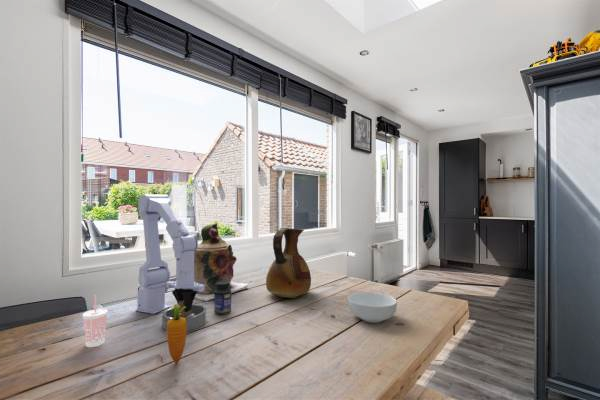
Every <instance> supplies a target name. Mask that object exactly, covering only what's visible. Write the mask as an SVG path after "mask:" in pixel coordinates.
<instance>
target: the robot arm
mask: <svg viewBox="0 0 600 400" xmlns="http://www.w3.org/2000/svg"><path fill="white" fill-rule="evenodd" d="M137 204H138V205H137V206H138V207H137V208H138V213H139V214H138V215H139V217H140V218H142V222H143V234H144V235H143V236H144V245H145V246H144V247H145V258H146V261H145V262H144V263H143V264H142V265H141V266H140V267H139V269H138V279H137V280H138V283H139V285H140V287H139V289H138V291H137V294H136V296H137V298H136V301H137V306H136V307H137V308H136V309H135V311H136V312H142V313H145V314H146V313H147V314H152V315H155V314H157V313H159V312H161V311H165V310H167V309H170V308H171V306H170V304H169V305H167V304H166V298H165V297H166V288H167V289H170V288H171V289H172V288H173V289H174V290H173V291H171V292H172V293H171V294H172V295H173V296H174V298H175V301H176V304H177V306H179V301H181V300H184V306H185V307H186V308H185V312H188V311H190V310H191V307H192V304H194V303H193V302H194V300H195V299H196V298H195V296H196V294H197V292H202V291H204V285H202V284H199V283H196V282H194V251H195V250H196V249H197V247H198V244H199V241H198V238H197V236H196V235H195V234H194V233H191V232H189V231H188V230H187V227H186V226H185V225H184V223H183V222H182V220H181V219H177V218H176V216H175V214H174V212H173V210H172V208H171V206H172V205H171V204H172V199H171V198H170V196H169V195H168V194H165V193H164V194H146V193H142V194H141V195H140V196H139V198H138V201H137ZM160 217H161V218H162V220H163V221H164V222H165V224H166V226H165V230H166V232H167V233H168V235H169V236H170V238H171V240H172V242H173V243H172V249H173V252H174V258H175V259H176V260H175V261H176V262H175V265H176V267H175V278H176V279H175V280H170V279H171V272H170V269H169V265H168V263H167V262H166V261H164V260H163V259H162V254H161V244H160V243H161V242H160V236H159V235H160V233H159V231H160V230H159V224H158V223H159V222H158V219H160Z"/></svg>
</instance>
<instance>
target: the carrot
mask: <svg viewBox="0 0 600 400" xmlns="http://www.w3.org/2000/svg"><path fill="white" fill-rule="evenodd" d="M172 307H173V308H172ZM172 307H170V308H171V310H172V314H173V316H174V318H172V319H170V320H168V321H167V330H166V339H167V340H166V341H167V347H168V351H169V354H170V357H171V359H172V361H173V363H175V364H178V363H179V362H180V360H181V358H182V356H183V354H184V351H185V346H186V341H187V331H186V330H187V323H186V319H185V318H183V317H180V315H181V312H182V311H183V310H184V309H185V308H186V307H185V306H184V307H183V308H181V310H180V311H179V308H180V306H178V304H177V303H175V304H174V305H173V306H172ZM177 314H178V315H177Z"/></svg>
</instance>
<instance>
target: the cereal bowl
mask: <svg viewBox="0 0 600 400" xmlns="http://www.w3.org/2000/svg"><path fill="white" fill-rule="evenodd" d="M397 303H398V302H397V299H396V298H395V297H393V296H391V295H388V294H384V293H379V292H371V291H370V292H367V291H366V292H364V291H363V292H356V293H352V294H350V295H348V296H347V306H348V309H349V311H350V312H351V313H352V314H353V315H354V316H355V317H357V318H360V319H361V320H362V321H364V322H367V323H375V324H376V323H382V322H383V321H385V320H388V319H390V318H392V317H393V316H394V315H395V313H396V312H397V309H398V308H397V307H398V304H397Z"/></svg>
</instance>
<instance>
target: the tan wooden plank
mask: <svg viewBox="0 0 600 400" xmlns="http://www.w3.org/2000/svg"><path fill="white" fill-rule="evenodd" d="M179 306H180V308H179V311H180V310H181V308H183V307H184V300H181V301H179ZM189 315H191V310H190V311H188V312H185V309H184V310H183V311H182V312H181V315H180V317H183V318H185V317H187V316H189Z"/></svg>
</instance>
